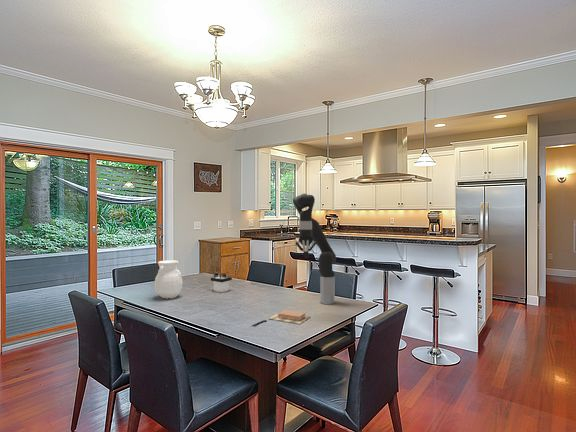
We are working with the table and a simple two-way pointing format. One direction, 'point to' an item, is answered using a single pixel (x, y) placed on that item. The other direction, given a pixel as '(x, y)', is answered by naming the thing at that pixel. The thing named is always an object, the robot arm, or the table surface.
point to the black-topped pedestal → (221, 282)
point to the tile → (291, 315)
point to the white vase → (168, 279)
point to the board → (288, 319)
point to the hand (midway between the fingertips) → (305, 257)
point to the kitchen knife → (258, 323)
